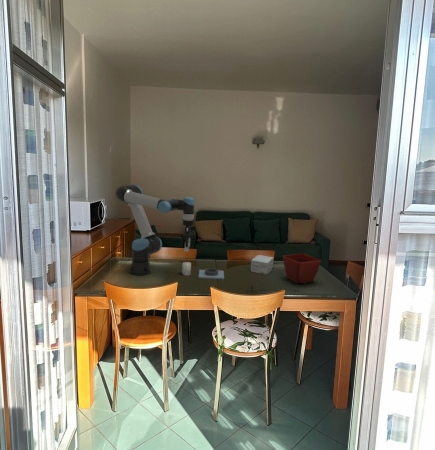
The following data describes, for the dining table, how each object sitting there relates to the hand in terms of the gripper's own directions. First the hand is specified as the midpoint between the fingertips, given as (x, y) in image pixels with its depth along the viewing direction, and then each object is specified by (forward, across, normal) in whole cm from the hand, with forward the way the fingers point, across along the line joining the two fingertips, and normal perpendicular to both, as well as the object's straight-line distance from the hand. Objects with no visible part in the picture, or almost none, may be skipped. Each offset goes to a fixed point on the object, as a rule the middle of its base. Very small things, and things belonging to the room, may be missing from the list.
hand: (187, 249), depth 239 cm
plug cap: (+18, 0, 0) cm, 19 cm away
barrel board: (+18, 0, -18) cm, 26 cm away
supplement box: (+19, +16, -57) cm, 62 cm away
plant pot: (+19, -5, -81) cm, 83 cm away
